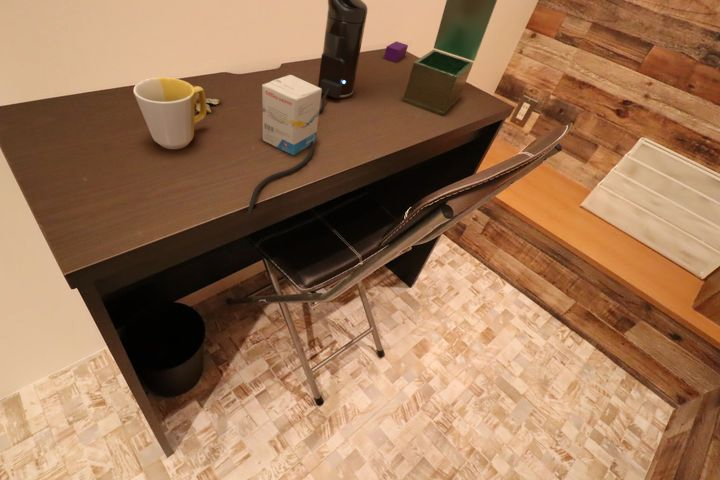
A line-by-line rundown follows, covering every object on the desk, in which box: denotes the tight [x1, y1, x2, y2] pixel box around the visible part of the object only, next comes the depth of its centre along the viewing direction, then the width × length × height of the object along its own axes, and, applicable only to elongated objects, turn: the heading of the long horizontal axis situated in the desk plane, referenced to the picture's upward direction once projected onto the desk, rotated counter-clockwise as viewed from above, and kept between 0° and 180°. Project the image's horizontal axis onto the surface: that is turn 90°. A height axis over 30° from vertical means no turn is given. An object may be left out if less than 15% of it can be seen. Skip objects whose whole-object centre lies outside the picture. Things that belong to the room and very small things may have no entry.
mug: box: [132, 76, 207, 150], centre depth 70 cm, size 14×10×10 cm
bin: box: [402, 49, 474, 116], centre depth 99 cm, size 15×12×10 cm
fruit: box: [191, 84, 221, 114], centre depth 83 cm, size 8×8×4 cm
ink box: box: [261, 74, 322, 156], centre depth 74 cm, size 9×8×12 cm
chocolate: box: [383, 41, 409, 63], centre depth 122 cm, size 8×4×4 cm, turn 148°
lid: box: [433, 0, 498, 62], centre depth 94 cm, size 16×12×5 cm
